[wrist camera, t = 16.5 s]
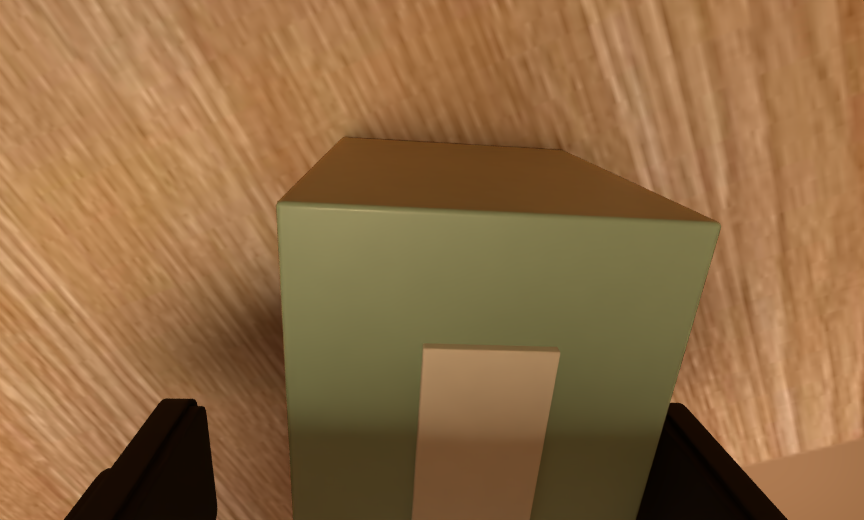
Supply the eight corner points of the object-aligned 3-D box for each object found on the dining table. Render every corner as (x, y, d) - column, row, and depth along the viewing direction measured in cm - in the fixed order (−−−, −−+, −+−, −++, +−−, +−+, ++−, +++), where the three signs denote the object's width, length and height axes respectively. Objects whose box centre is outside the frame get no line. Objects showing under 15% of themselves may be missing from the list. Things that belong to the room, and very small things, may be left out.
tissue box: (563, 149, 13) (732, 226, 6) (513, 464, 17) (585, 717, 10) (341, 136, 13) (271, 204, 6) (342, 462, 16) (301, 726, 10)
